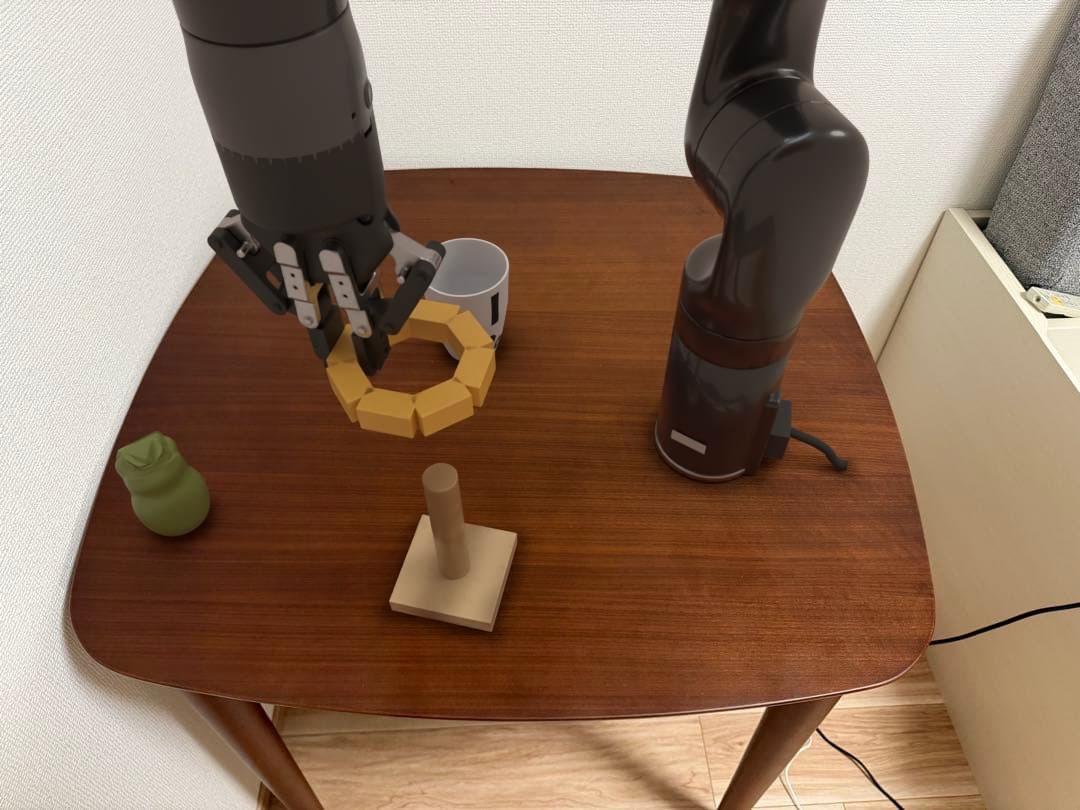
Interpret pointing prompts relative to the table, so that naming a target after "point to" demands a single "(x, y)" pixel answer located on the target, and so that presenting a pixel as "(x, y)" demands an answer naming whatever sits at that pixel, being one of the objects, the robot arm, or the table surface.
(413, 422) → the ring
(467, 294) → the cup
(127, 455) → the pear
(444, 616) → the stand
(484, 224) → the table surface
